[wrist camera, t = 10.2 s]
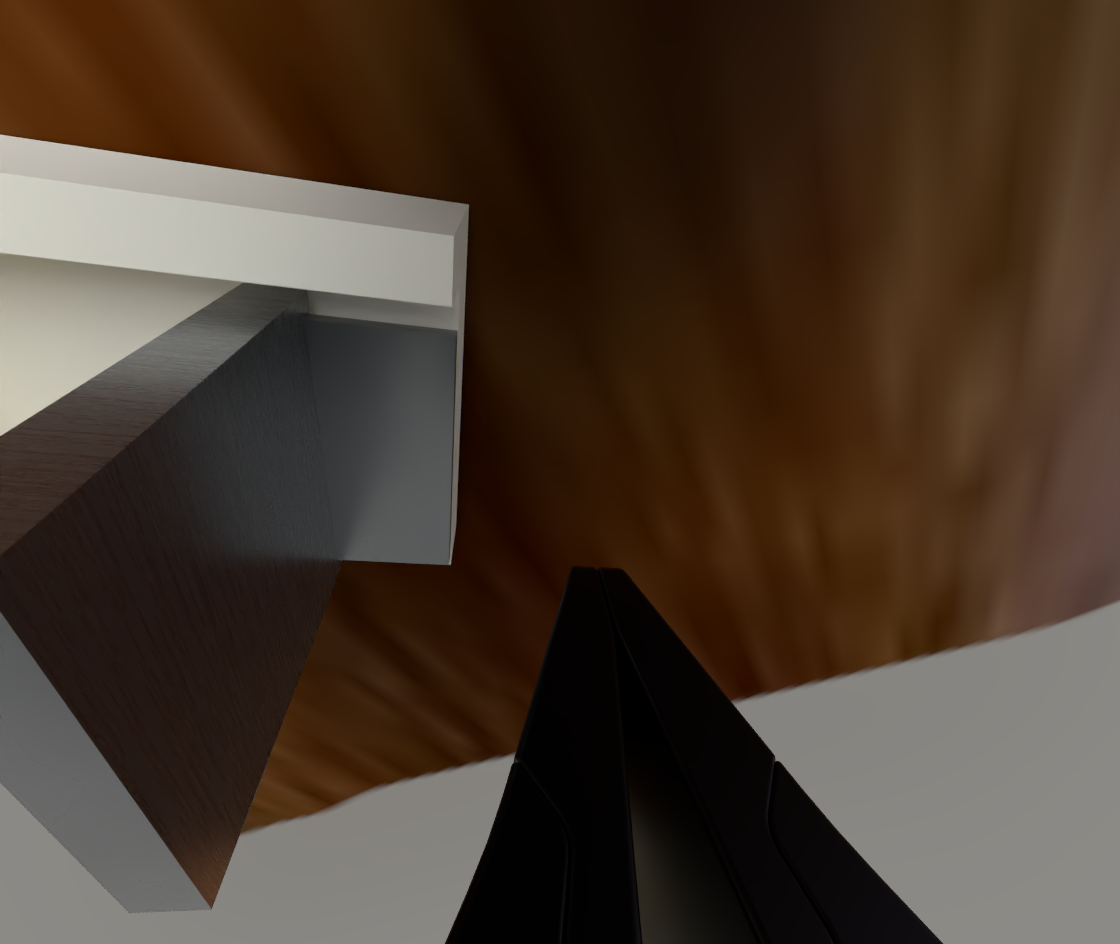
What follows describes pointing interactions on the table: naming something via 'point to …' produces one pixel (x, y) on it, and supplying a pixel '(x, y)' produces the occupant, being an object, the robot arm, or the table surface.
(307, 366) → the bookend
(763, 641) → the table surface
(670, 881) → the robot arm
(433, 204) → the shelf
